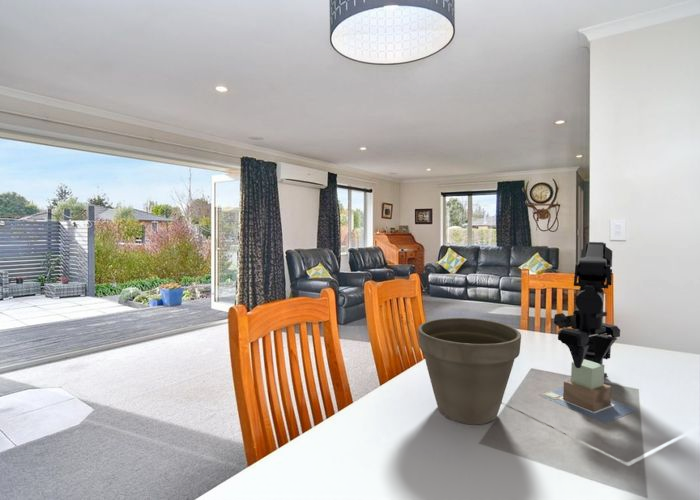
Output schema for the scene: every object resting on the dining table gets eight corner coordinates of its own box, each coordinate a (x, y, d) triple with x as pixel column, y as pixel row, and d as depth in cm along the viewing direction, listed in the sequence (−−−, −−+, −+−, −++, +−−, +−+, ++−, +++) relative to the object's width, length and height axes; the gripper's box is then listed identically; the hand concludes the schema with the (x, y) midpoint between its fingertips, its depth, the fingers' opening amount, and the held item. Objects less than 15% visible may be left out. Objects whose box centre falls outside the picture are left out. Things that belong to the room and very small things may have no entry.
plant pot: (446, 443, 87) (448, 346, 85) (402, 396, 110) (403, 320, 109) (541, 428, 93) (544, 338, 92) (480, 387, 117) (482, 315, 116)
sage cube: (582, 378, 110) (583, 359, 110) (603, 385, 105) (604, 365, 105) (570, 382, 107) (571, 362, 107) (591, 389, 103) (592, 368, 102)
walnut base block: (580, 393, 112) (581, 376, 112) (610, 404, 105) (611, 386, 105) (563, 399, 108) (563, 381, 108) (592, 411, 101) (593, 392, 101)
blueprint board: (571, 386, 118) (571, 384, 118) (638, 411, 102) (638, 408, 102) (538, 396, 111) (538, 394, 111) (605, 425, 95) (605, 422, 95)
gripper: (581, 299, 116) (579, 351, 117) (540, 304, 107) (538, 361, 108) (622, 306, 107) (619, 363, 108) (580, 312, 98) (578, 374, 99)
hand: (588, 364), depth 106 cm, fingers open, 9 cm apart
